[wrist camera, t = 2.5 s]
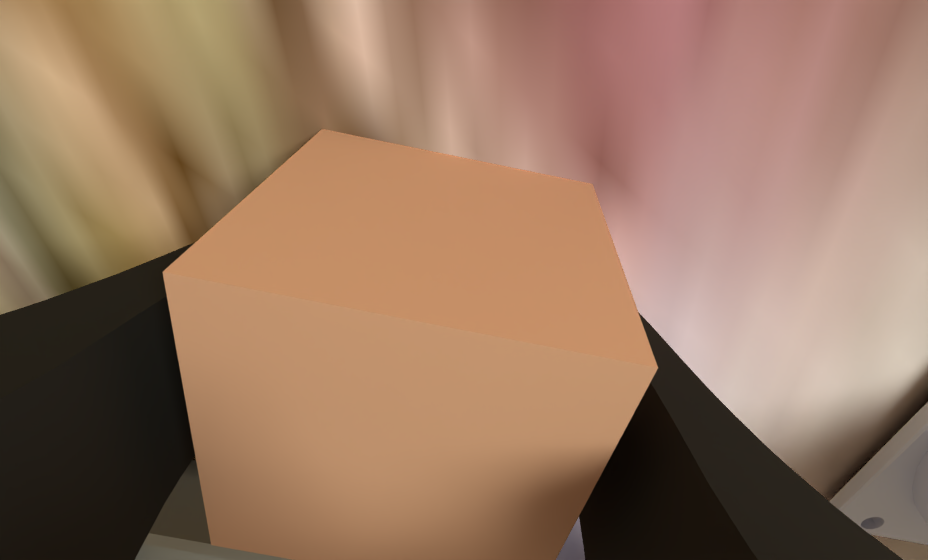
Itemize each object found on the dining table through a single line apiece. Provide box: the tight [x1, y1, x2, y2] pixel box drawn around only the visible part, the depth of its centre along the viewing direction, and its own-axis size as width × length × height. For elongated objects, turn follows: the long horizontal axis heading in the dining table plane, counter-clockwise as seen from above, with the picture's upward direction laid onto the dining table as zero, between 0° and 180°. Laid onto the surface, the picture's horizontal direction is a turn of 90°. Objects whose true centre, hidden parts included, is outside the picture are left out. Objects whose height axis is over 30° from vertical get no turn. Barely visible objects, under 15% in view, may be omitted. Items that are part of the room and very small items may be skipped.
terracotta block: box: [163, 129, 658, 560], centre depth 8 cm, size 5×5×5 cm
